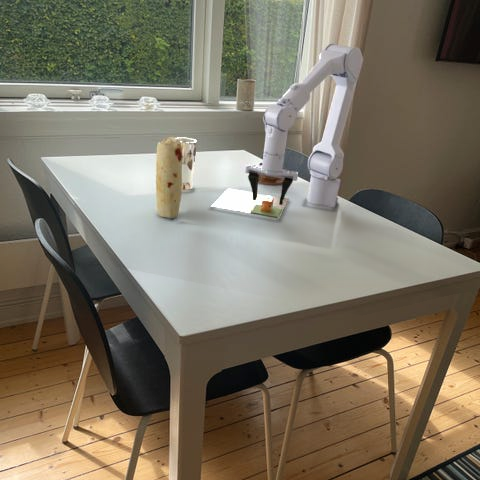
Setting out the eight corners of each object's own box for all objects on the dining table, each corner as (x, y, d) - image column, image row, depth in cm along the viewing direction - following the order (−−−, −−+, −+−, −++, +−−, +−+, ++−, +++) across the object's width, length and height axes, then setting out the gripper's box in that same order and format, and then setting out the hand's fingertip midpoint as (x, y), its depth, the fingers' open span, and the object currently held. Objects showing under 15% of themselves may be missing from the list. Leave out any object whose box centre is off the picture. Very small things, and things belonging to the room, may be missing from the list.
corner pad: (282, 209, 143) (282, 208, 143) (277, 217, 136) (277, 216, 136) (255, 204, 144) (255, 203, 144) (250, 212, 137) (250, 211, 137)
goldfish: (264, 205, 143) (265, 192, 141) (273, 207, 142) (275, 194, 140) (259, 212, 137) (261, 198, 135) (269, 214, 137) (271, 200, 135)
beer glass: (196, 187, 155) (198, 139, 148) (192, 194, 149) (194, 143, 142) (174, 185, 156) (176, 136, 148) (170, 191, 150) (171, 140, 142)
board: (288, 201, 153) (289, 198, 152) (278, 221, 136) (279, 218, 135) (227, 191, 156) (228, 188, 155) (210, 209, 139) (210, 206, 138)
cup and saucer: (285, 189, 164) (288, 171, 160) (250, 186, 163) (252, 167, 160) (283, 180, 174) (286, 162, 171) (250, 176, 173) (252, 159, 170)
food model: (184, 221, 129) (187, 143, 118) (159, 221, 127) (160, 142, 116) (177, 208, 137) (179, 134, 126) (153, 208, 135) (154, 133, 124)
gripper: (245, 151, 129) (240, 201, 136) (298, 160, 127) (290, 209, 134) (250, 146, 135) (245, 194, 142) (301, 154, 133) (294, 202, 140)
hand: (267, 201), depth 139 cm, fingers open, 7 cm apart
